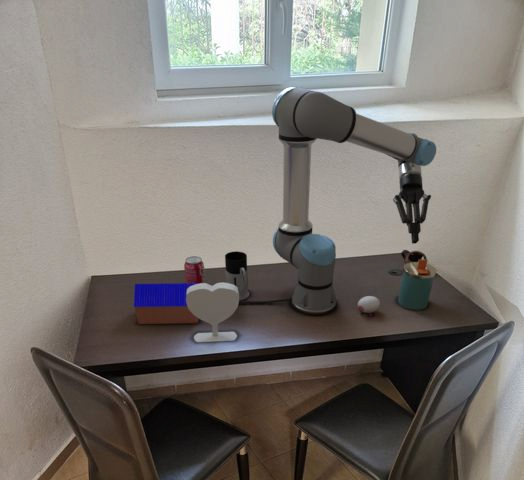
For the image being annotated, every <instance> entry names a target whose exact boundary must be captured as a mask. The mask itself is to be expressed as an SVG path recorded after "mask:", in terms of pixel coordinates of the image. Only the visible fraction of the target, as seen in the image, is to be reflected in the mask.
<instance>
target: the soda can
mask: <svg viewBox="0 0 524 480" xmlns="http://www.w3.org/2000/svg"><path fill="white" fill-rule="evenodd" d="M183 268H184V278H185V283H198V284H200V283H206V272H205V271H206V270H205V264H204V261H203V259H202V258H201V257H200V256H197V255H191V256H188V257H186V258H185V262H184V264H183Z"/></svg>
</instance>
